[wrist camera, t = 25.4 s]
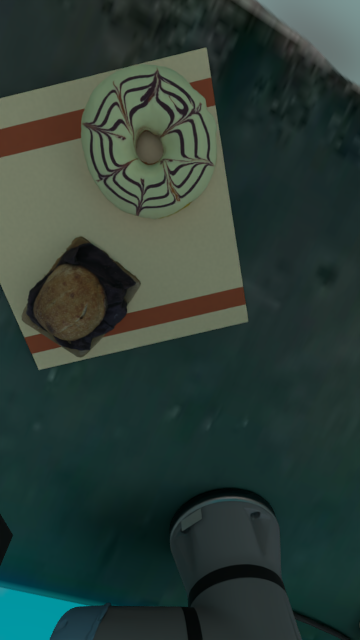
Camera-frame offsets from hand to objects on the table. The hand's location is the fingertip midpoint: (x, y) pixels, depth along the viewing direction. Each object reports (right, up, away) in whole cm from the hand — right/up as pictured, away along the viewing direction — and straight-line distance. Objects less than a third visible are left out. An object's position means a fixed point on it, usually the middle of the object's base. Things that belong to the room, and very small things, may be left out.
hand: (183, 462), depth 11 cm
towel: (-7, +13, +20) cm, 25 cm away
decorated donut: (-3, +19, +18) cm, 26 cm away
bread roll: (-10, +7, +22) cm, 25 cm away
